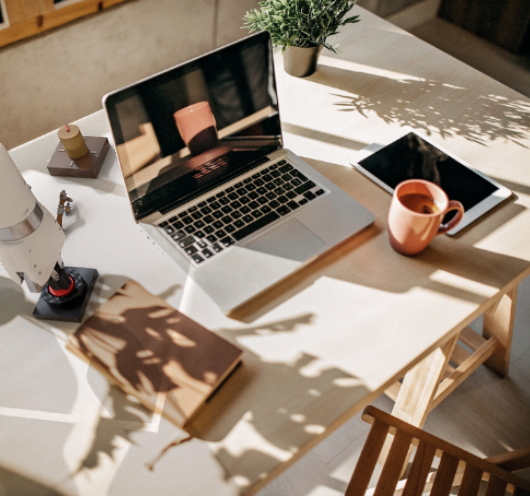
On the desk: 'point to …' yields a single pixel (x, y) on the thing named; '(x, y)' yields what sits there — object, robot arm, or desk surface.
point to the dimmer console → (80, 159)
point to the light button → (62, 290)
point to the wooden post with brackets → (61, 207)
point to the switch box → (68, 297)
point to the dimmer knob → (72, 141)
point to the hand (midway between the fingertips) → (61, 285)
